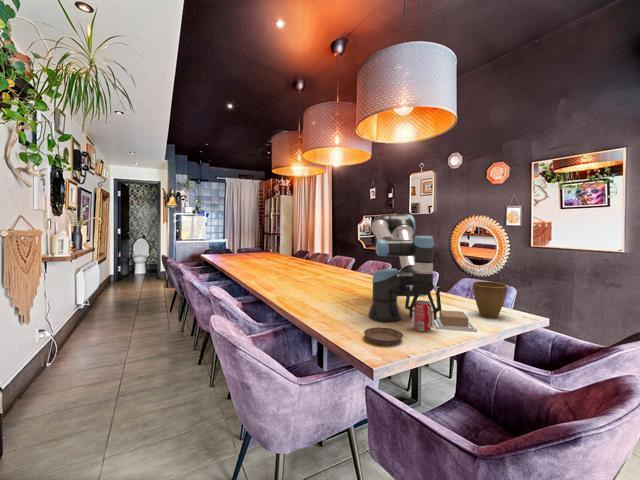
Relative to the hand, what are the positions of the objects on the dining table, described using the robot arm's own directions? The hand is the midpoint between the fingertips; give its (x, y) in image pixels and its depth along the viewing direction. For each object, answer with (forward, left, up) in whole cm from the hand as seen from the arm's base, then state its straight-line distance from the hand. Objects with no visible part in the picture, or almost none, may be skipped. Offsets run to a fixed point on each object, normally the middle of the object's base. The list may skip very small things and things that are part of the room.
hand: (422, 326), depth 125 cm
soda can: (0, 0, -2) cm, 2 cm away
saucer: (-16, -15, -2) cm, 22 cm away
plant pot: (+34, +29, -2) cm, 45 cm away
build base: (+14, +10, -2) cm, 17 cm away
